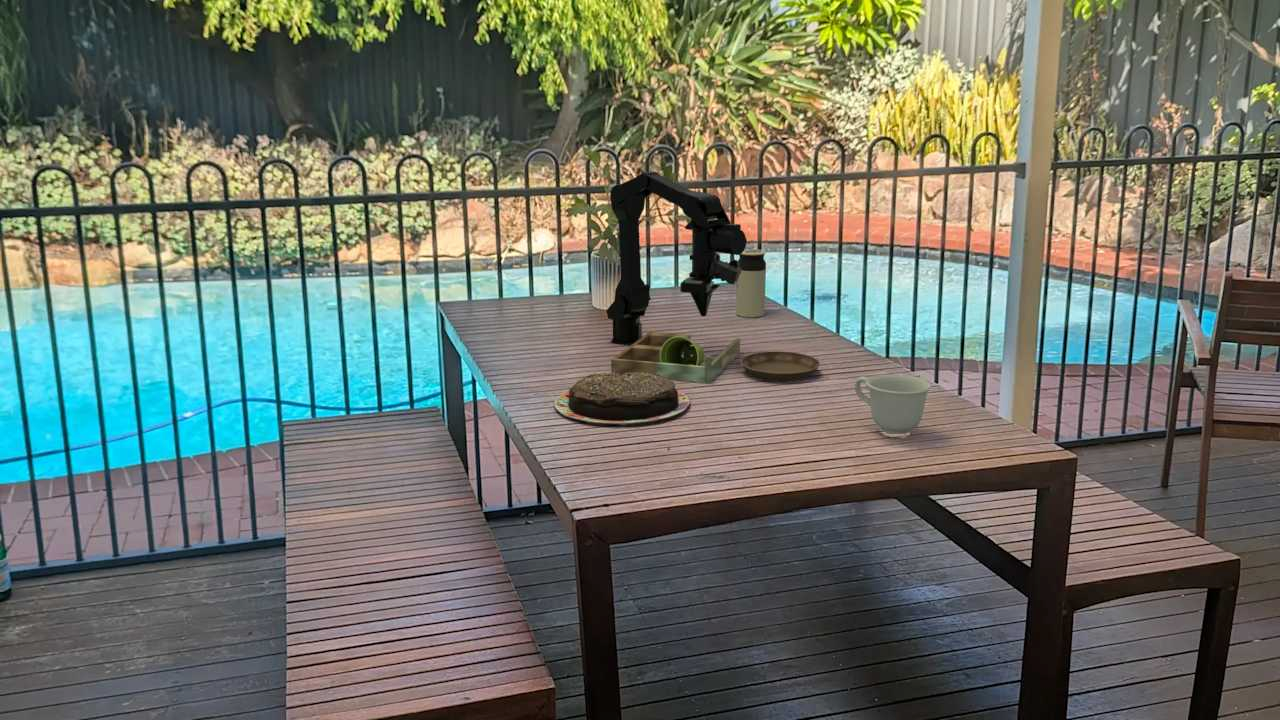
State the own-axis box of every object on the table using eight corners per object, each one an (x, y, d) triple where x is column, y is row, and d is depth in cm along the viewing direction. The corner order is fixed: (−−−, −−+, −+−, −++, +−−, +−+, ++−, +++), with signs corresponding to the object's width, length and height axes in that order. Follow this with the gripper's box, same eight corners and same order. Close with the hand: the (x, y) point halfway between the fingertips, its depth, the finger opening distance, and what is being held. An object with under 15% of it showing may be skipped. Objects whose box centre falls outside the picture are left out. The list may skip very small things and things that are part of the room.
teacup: (868, 416, 215) (870, 368, 213) (938, 431, 206) (942, 381, 204) (838, 432, 206) (840, 381, 204) (910, 448, 197) (914, 396, 195)
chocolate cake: (538, 396, 231) (537, 366, 229) (660, 382, 240) (660, 354, 239) (577, 436, 206) (577, 403, 204) (712, 420, 215) (712, 388, 213)
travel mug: (769, 313, 305) (771, 250, 300) (756, 319, 298) (758, 254, 294) (743, 310, 309) (745, 248, 304) (731, 316, 302) (732, 252, 298)
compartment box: (611, 374, 245) (610, 348, 244) (650, 345, 271) (650, 321, 269) (709, 383, 238) (710, 357, 237) (740, 352, 264) (740, 328, 262)
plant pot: (672, 374, 252) (658, 377, 244) (673, 334, 251) (659, 335, 243) (710, 376, 248) (698, 379, 240) (711, 335, 248) (698, 336, 240)
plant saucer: (816, 387, 236) (817, 373, 235) (736, 382, 240) (736, 369, 239) (821, 366, 253) (821, 353, 252) (745, 362, 256) (746, 349, 256)
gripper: (728, 258, 239) (726, 327, 243) (748, 245, 256) (746, 310, 260) (679, 255, 243) (679, 323, 247) (702, 243, 260) (702, 307, 264)
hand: (703, 316), depth 254 cm, fingers closed
